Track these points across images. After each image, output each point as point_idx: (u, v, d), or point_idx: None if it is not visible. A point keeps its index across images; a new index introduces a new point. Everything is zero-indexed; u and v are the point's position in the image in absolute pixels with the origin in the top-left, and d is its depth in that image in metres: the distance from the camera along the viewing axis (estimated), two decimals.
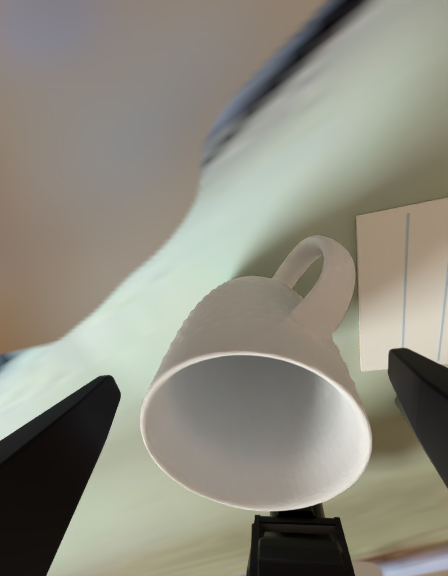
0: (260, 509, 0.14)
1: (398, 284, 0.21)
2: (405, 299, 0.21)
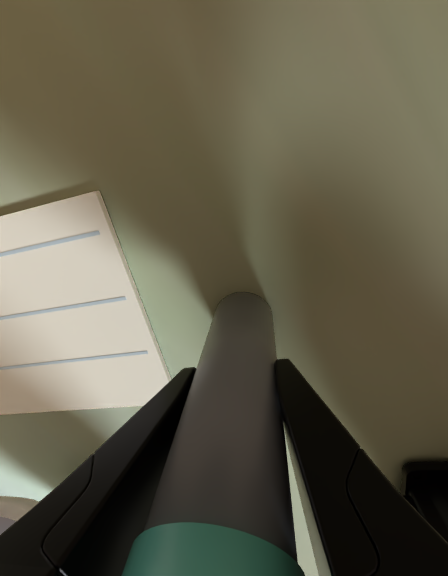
0: None
1: (18, 373, 0.14)
2: (34, 363, 0.14)
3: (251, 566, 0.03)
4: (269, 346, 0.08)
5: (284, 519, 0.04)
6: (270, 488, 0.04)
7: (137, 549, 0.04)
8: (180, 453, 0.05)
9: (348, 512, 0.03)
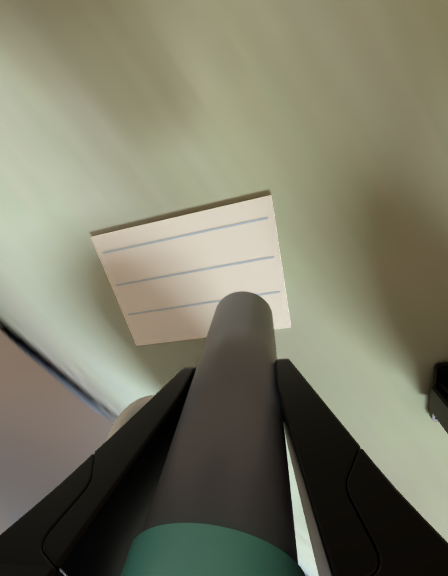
0: None
1: (186, 310, 0.22)
2: (200, 302, 0.22)
3: (249, 567, 0.03)
4: (269, 346, 0.08)
5: (284, 519, 0.04)
6: (270, 489, 0.04)
7: (136, 550, 0.04)
8: (180, 453, 0.05)
9: (348, 512, 0.03)
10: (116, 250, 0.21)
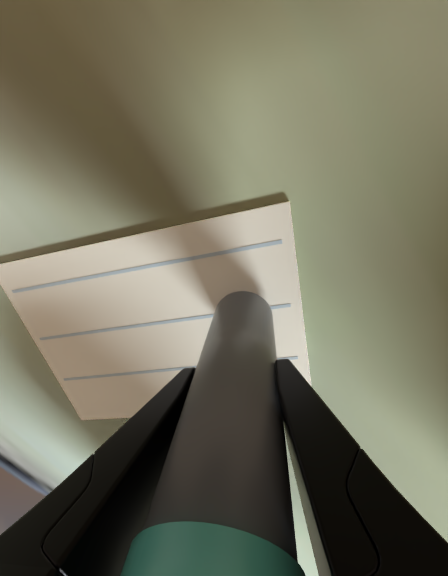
0: None
1: (151, 378, 0.14)
2: (171, 368, 0.14)
3: (249, 566, 0.03)
4: (269, 345, 0.08)
5: (284, 518, 0.04)
6: (270, 488, 0.04)
7: (136, 548, 0.04)
8: (180, 452, 0.05)
9: (348, 512, 0.03)
10: (33, 288, 0.13)
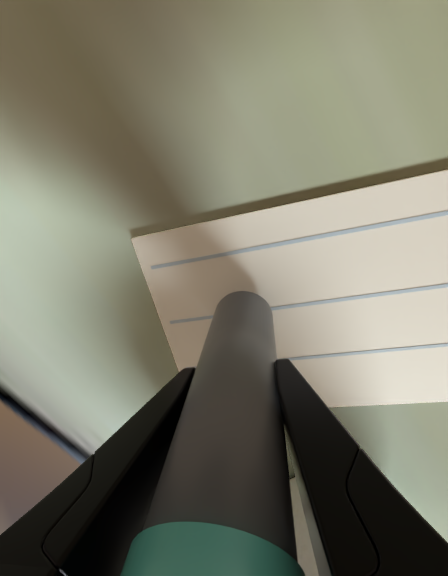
0: None
1: None
2: (321, 355, 0.12)
3: (250, 566, 0.03)
4: (269, 345, 0.08)
5: (284, 518, 0.04)
6: (269, 487, 0.04)
7: (136, 549, 0.04)
8: (180, 452, 0.05)
9: (348, 512, 0.03)
10: (177, 264, 0.11)
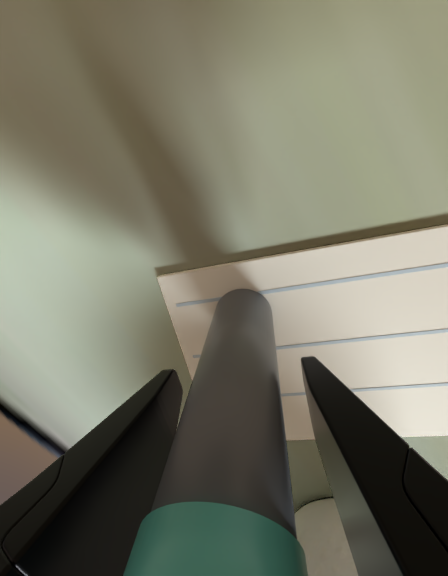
0: None
1: None
2: None
3: (253, 540, 0.03)
4: (268, 341, 0.08)
5: (284, 500, 0.04)
6: (271, 472, 0.04)
7: (145, 528, 0.04)
8: (184, 440, 0.05)
9: (411, 514, 0.03)
10: (203, 302, 0.12)
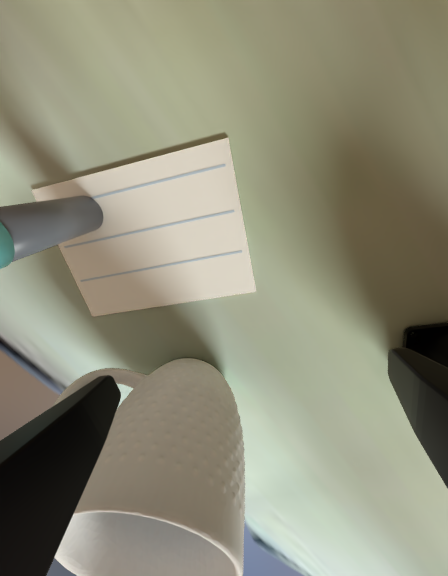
0: (237, 572, 0.13)
1: (143, 275, 0.21)
2: (158, 265, 0.20)
3: None
4: (68, 207, 0.16)
5: (9, 222, 0.12)
6: (7, 215, 0.12)
7: None
8: None
9: None
10: None
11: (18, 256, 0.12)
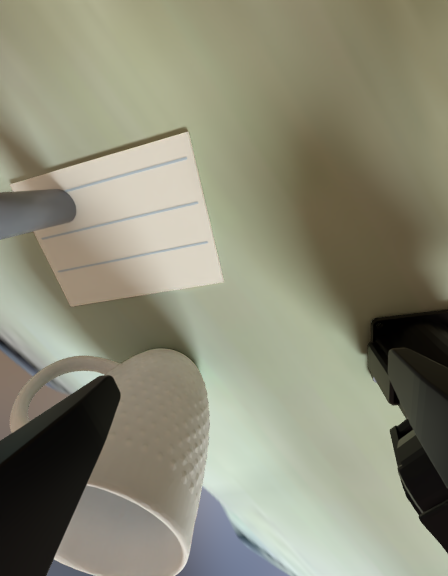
0: (180, 546, 0.13)
1: (116, 266, 0.21)
2: (129, 256, 0.21)
3: None
4: (36, 198, 0.17)
5: None
6: None
7: None
8: None
9: None
10: None
11: None
